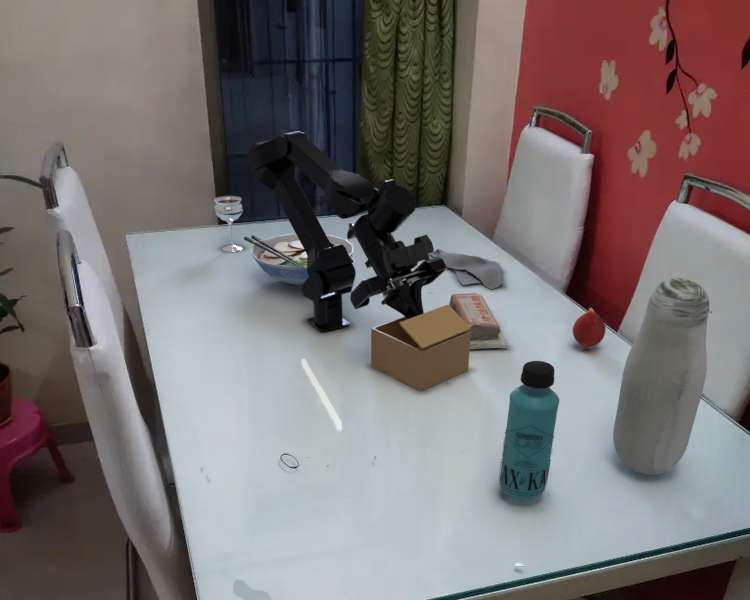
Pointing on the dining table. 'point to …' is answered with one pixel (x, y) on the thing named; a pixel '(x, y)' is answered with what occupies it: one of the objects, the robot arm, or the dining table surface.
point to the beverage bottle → (529, 433)
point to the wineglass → (229, 215)
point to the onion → (589, 329)
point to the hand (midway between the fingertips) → (422, 325)
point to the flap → (434, 326)
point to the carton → (417, 356)
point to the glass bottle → (663, 379)
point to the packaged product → (478, 321)
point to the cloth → (472, 269)
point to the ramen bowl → (287, 256)
